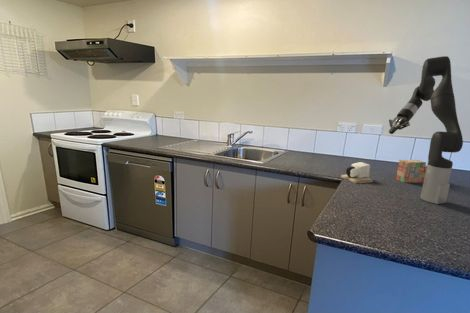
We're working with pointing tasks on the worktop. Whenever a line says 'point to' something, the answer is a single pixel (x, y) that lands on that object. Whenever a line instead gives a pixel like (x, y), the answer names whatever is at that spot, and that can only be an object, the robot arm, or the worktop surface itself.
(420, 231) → the worktop surface
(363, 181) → the maple board
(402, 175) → the stack of blocks
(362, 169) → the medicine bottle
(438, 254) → the worktop surface
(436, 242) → the worktop surface
